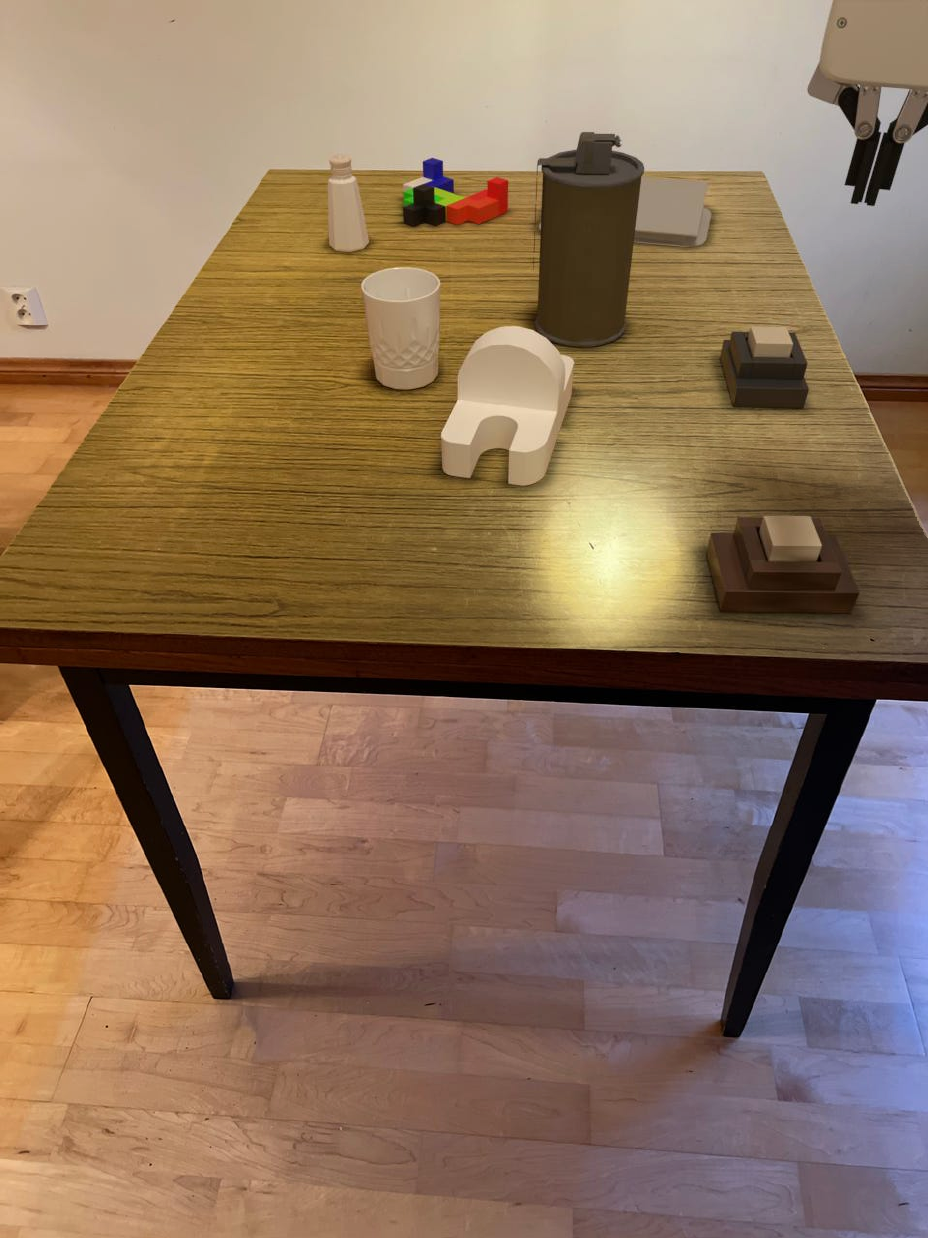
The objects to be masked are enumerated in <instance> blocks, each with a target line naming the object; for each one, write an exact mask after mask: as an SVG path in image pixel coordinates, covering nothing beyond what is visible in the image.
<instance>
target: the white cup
mask: <svg viewBox="0 0 928 1238" xmlns="http://www.w3.org/2000/svg"><path fill="white" fill-rule="evenodd" d="M360 284H361V285H360V289H361V296H362V303H363V309H364V316H365V323H366V329H367V334H368V342H369V346H370V353H371V355H372V359H373V364H374V365H373V366H374V371H375V378H376V379H375V380H377V381H378V382H379V383H380V384H381V385H383V386H384V387H388V388H390V389H394V390H414V389H419V388H424V387H426V386H427V385H429V384H431V383H433V382H434V381H435V379H436V378H437V377H438V375H439V349H440V336H441V335H440V334H441V280H440V278H439V276H437V275H436V274H434V273H433V272H431V271H429V270H426V269H423V268H418V267H409V266H401V267H398V266H397V267H390V268H385V269H384V268H383V269H381V270H378V271H375V272H373V273H370V274H369V275H367V276H366V277H365V278H364V279H363V280H362V282H361V283H360Z"/></svg>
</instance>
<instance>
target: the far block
mask: <svg viewBox="0 0 928 1238" xmlns="http://www.w3.org/2000/svg"><path fill="white" fill-rule="evenodd" d="M749 332H750V331H731V334H730V338H729V339H723V341H722V345H721V346H722V347H721V351H720V356H719V359H720V363H721V366H722V370H723V374H724V377H725V381H726V385H727V388H728V393H729V396H730V400H731V404H732V406H733V407H737V408H739V407H740V408H775V409H777V408H778V409H779V408H780V409H781V408H783V409H785V408H787V409H804V408H805V404H806V401H807V398H808V394H809V391H810V388H809V385H808V383H807V380H806V378H805V374H806V371H807V368H808V361H807V358H806V356H805V354H804V351H803V348H802V346H801V344H800V342H799V339H798V337H797V334H796V332H789V335H790V337H791V340H792V342H793V346H792V350H791V354H790V357H752V355H751V352H750V349H749V345H748V342H747V341H748V337H749Z"/></svg>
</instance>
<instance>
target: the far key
mask: <svg viewBox="0 0 928 1238" xmlns="http://www.w3.org/2000/svg"><path fill="white" fill-rule="evenodd" d="M748 332H749V337H748V341H747V342H748V345H749V349H750V352H751V355H752V357H790V354H791V350H792V346H793V342H792V340H791V337H790V335H789V333H790V331H789V330H788V327H787V326H757V325H756V326H755V325H753V326H750V328H749V331H748Z"/></svg>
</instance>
